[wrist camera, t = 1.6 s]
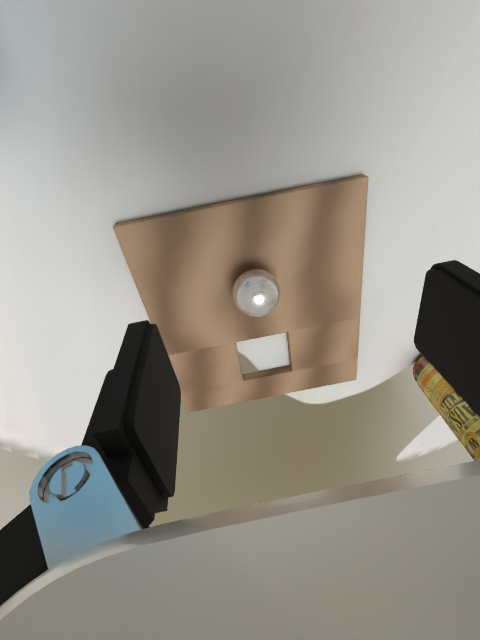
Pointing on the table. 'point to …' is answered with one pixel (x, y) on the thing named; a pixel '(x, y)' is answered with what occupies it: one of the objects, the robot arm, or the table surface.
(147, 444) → the robot arm
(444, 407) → the sauce bottle
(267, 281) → the steel ball
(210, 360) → the walnut board
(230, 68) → the table surface
